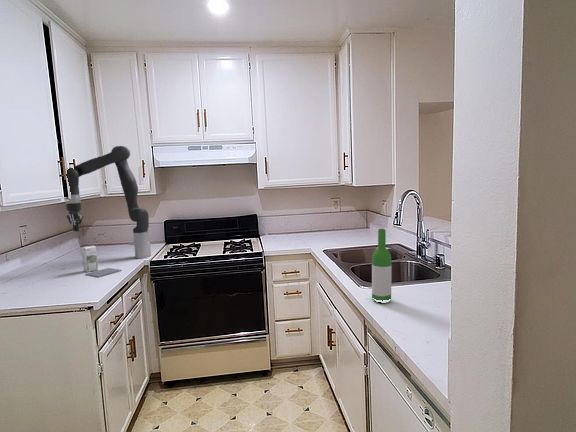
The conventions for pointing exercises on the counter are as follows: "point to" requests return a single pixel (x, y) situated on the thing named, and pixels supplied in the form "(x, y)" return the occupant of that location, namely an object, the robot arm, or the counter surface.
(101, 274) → the mat
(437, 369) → the counter surface
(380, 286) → the wine bottle
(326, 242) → the counter surface
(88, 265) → the syrup box
